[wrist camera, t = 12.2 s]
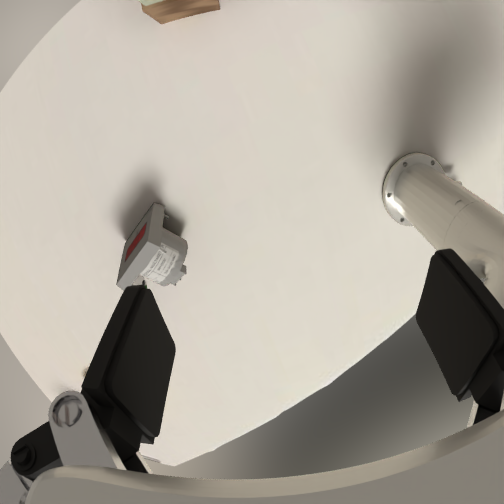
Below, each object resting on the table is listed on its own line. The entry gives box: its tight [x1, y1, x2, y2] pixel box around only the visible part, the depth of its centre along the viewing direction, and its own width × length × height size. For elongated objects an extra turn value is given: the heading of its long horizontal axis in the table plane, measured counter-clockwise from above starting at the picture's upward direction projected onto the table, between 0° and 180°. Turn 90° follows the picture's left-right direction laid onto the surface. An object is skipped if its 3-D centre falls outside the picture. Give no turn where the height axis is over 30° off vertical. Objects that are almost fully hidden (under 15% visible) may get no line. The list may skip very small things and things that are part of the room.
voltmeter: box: [116, 203, 188, 290], centre depth 44 cm, size 27×11×10 cm, turn 173°
